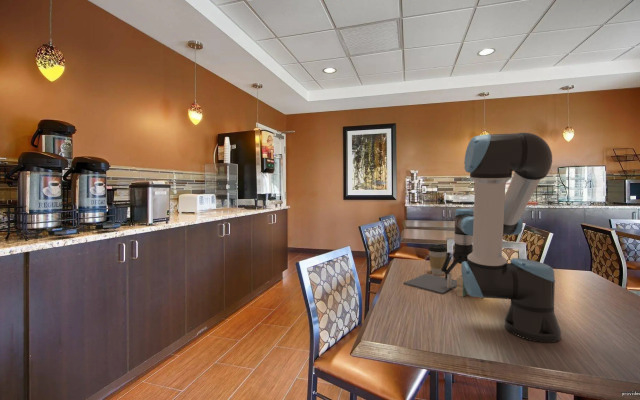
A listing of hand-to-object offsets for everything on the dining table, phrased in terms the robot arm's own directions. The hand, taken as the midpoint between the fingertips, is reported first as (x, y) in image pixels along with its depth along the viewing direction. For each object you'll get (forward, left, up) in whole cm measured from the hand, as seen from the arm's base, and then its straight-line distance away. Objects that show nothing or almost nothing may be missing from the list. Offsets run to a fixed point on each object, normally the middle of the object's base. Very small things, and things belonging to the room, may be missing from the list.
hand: (462, 291), depth 134 cm
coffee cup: (+21, +22, -1) cm, 30 cm away
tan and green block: (0, -1, -1) cm, 1 cm away
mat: (+3, +15, -1) cm, 15 cm away
